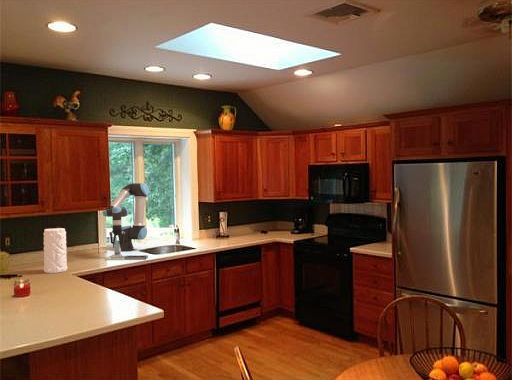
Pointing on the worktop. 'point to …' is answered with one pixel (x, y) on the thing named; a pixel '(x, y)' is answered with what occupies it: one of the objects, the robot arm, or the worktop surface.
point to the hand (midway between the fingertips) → (117, 251)
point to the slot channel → (136, 257)
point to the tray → (114, 258)
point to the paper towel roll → (55, 250)
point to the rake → (117, 248)
